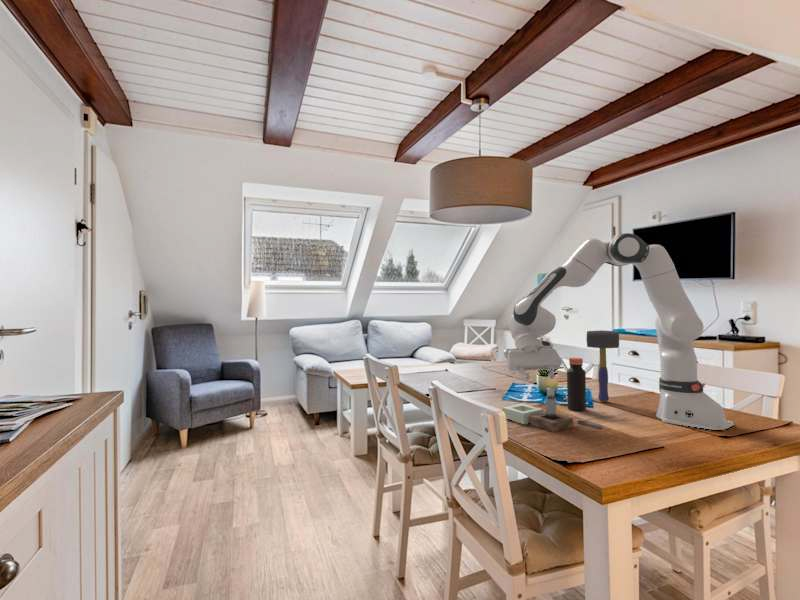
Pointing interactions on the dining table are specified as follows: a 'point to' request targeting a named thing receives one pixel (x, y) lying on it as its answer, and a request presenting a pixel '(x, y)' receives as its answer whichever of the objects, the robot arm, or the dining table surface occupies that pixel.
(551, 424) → the socket block
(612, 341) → the rubber mallet
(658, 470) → the dining table surface
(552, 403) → the drill bit
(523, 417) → the rack block
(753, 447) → the dining table surface
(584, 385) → the bottle
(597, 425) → the drift key
